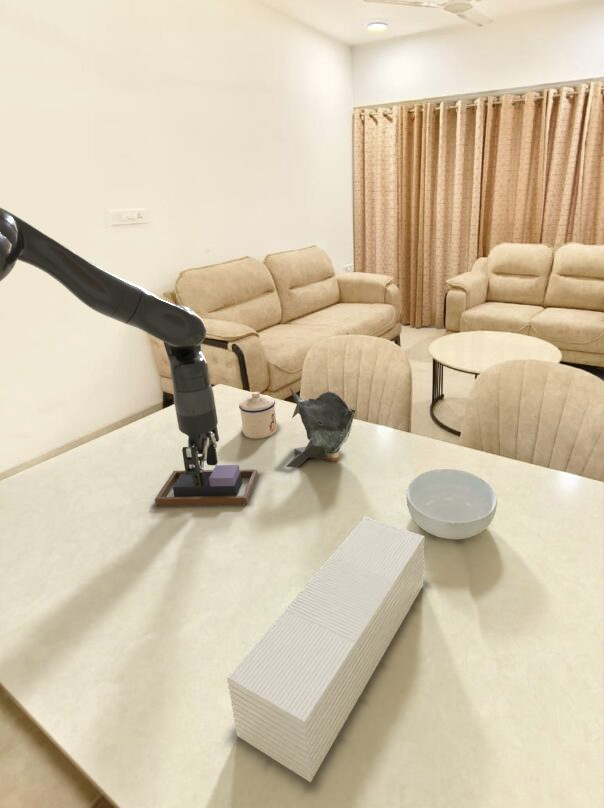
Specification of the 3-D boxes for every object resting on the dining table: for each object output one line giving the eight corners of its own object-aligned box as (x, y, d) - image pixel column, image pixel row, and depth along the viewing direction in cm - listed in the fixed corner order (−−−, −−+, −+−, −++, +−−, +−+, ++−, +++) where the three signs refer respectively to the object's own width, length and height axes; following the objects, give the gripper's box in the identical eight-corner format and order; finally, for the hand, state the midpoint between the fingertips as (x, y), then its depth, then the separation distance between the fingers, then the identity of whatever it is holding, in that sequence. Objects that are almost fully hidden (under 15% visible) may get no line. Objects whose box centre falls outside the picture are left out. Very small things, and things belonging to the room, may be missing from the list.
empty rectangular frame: (156, 509, 102) (154, 499, 101) (175, 480, 112) (173, 470, 111) (247, 508, 102) (246, 497, 101) (258, 478, 112) (257, 469, 111)
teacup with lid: (278, 439, 129) (274, 398, 125) (242, 443, 127) (237, 402, 123) (276, 418, 140) (272, 380, 135) (243, 422, 138) (238, 383, 133)
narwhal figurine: (341, 483, 110) (337, 410, 103) (278, 472, 114) (271, 401, 108) (362, 451, 122) (360, 384, 116) (305, 442, 127) (300, 377, 120)
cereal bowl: (392, 537, 93) (392, 506, 91) (423, 489, 107) (423, 461, 105) (482, 564, 87) (485, 531, 84) (502, 509, 101) (505, 479, 98)
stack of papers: (310, 787, 56) (304, 722, 52) (237, 740, 60) (226, 677, 56) (423, 589, 82) (424, 536, 78) (366, 567, 86) (364, 516, 82)
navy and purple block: (236, 498, 105) (233, 477, 103) (174, 499, 105) (170, 479, 103) (242, 484, 109) (239, 464, 108) (183, 485, 109) (179, 465, 108)
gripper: (203, 422, 93) (214, 495, 99) (224, 391, 106) (233, 457, 112) (162, 422, 93) (176, 495, 99) (188, 391, 106) (199, 457, 112)
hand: (206, 475), depth 106 cm, fingers open, 8 cm apart
